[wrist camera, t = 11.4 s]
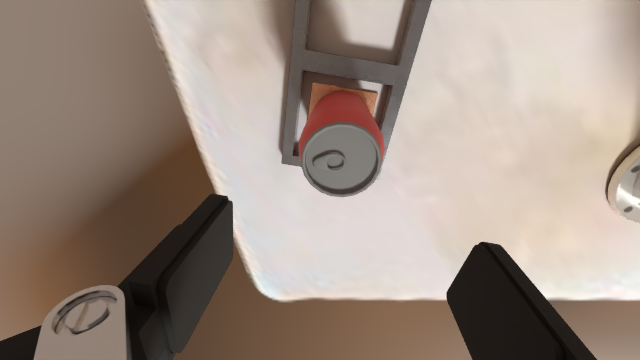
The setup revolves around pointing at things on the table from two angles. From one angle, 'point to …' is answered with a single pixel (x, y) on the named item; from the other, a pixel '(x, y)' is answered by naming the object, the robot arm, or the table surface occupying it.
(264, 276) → the table surface
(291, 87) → the gray rectangular frame
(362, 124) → the beer can
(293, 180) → the table surface
